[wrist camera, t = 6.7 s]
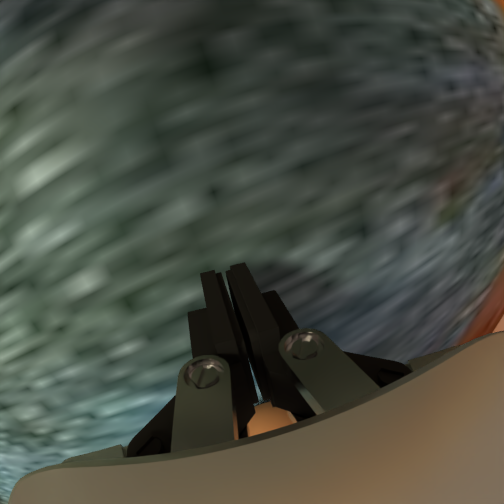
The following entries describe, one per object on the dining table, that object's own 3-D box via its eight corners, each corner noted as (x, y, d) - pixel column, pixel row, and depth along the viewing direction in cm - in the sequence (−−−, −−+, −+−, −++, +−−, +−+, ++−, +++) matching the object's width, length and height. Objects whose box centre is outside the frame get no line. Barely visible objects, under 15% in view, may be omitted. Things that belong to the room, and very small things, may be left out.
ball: (243, 485, 15) (210, 412, 17) (324, 453, 17) (296, 380, 18) (254, 528, 10) (207, 437, 11) (362, 482, 11) (328, 390, 13)
